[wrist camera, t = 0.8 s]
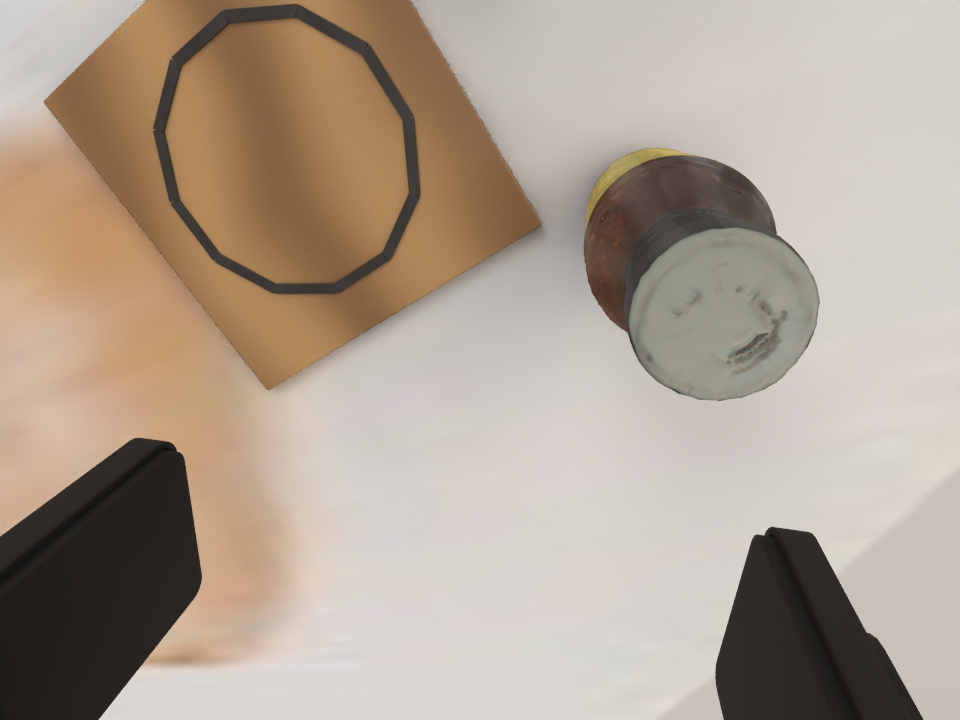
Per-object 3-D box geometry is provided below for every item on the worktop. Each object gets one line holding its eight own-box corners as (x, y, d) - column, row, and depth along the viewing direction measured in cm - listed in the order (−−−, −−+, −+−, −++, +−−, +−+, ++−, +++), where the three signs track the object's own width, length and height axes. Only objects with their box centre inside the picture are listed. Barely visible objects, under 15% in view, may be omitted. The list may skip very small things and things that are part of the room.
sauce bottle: (719, 252, 32) (897, 445, 14) (599, 281, 33) (617, 488, 15) (698, 122, 30) (877, 148, 12) (571, 159, 31) (554, 232, 13)
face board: (317, -158, 28) (310, -165, 27) (542, 223, 33) (541, 226, 32) (51, 101, 34) (40, 101, 34) (271, 387, 39) (266, 392, 39)
